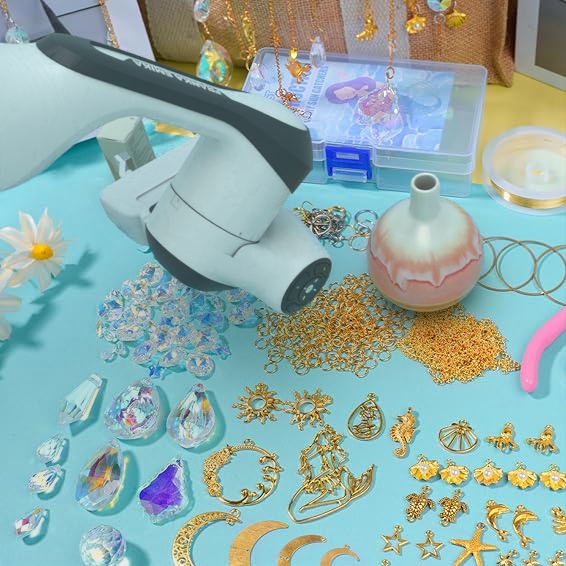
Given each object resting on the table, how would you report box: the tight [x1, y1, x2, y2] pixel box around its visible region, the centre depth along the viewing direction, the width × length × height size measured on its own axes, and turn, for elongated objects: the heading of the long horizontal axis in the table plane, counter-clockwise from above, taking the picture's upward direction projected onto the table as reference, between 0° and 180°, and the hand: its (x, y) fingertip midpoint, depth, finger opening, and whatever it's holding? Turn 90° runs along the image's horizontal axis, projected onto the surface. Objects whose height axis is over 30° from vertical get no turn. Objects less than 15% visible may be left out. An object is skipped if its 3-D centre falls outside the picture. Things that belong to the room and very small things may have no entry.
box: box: [95, 116, 157, 182], centre depth 110 cm, size 5×4×11 cm
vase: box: [365, 172, 485, 313], centre depth 94 cm, size 14×14×18 cm
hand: (155, 138), depth 95 cm, fingers open, 8 cm apart
